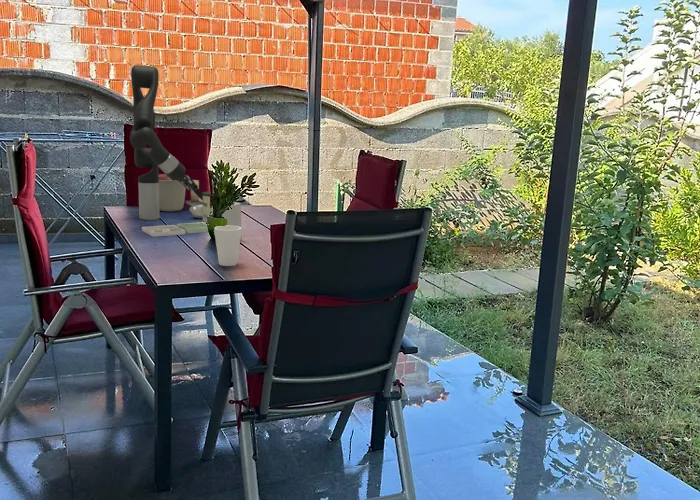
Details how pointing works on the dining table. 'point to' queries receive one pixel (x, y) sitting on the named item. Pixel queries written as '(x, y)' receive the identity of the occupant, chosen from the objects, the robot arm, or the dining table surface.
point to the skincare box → (233, 215)
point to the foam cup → (227, 244)
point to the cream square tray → (165, 230)
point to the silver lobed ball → (197, 210)
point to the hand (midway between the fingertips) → (199, 194)
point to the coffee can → (207, 205)
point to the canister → (170, 194)
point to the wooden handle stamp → (195, 197)
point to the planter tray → (193, 227)
